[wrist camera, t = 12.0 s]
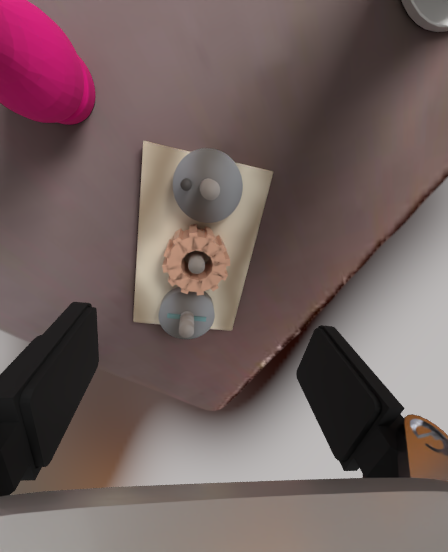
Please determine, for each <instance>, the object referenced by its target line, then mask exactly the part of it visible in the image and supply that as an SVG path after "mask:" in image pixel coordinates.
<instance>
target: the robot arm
mask: <svg viewBox="0 0 448 552" xmlns="http://www.w3.org/2000/svg"><path fill="white" fill-rule="evenodd" d="M402 4H403V5H404V7H405V9H406V11H407V13H408V15H409V16H410V17H411V18H412V19H413V21H414V22H415V23H416V24H418V25H419V26H421V27H422V28H424V29H426V30H430V31H434V32H444V31H448V0H402ZM98 362H99V355H98V333H97V311H96V308H94V307H92V305H91V304H90V303H81V302H73V303H71V304H70V305H69V307H68V308H67V309H66V310H65V311H64V312H63V313H62V314H61V315H60V316H59V317H58V319H57V320H56V321H55V322H54V323H53V324H52V325H51V326H50V327H49V328H48V329H47V330H46V332H45V333H44V334H43V335H40V336H37V337H36V338H35V339H34V340H33V341H32V342H31V343H30V344H29V345H28V346H27V347H26V348H25V349H24V350H23V351H22V352H21V353H20V354H19V356H18V357H17V358H16V359H15V360H14V361H13V362H12V363H11V364H10V365H9V366H8V367H7V368H6V369H5V370H4V371H3V373H1V375H0V552H448V435H447V434H446V433H445V432H444V431H443V430H441V429H440V428H439V427H438V426H436V425H435V424H433V423H432V422H430V421H429V420H427V419H425V418H422V417H420V416H417V415H413V414H412V415H407V416H406V417H405V418H403V417H402V416H401V412H402V411H403V410H404V407H403V406H402V405H401V404H400V403H399V402H398V401H397V399H396V398H395V397H394V396H393V395H392V393H390V391H389V390H388V389H387V388H386V386H385V385H384V384H383V383H382V382H381V381H380V380H379V378H378V377H377V376H376V375H375V374H374V373H373V371H372V370H371V369H370V368H369V367H368V366H367V364H366V363H365V362H364V361H363V360H362V359H361V358H360V356H359V355H358V354H357V353H356V352H355V351H354V350H353V348H352V347H351V346H350V345H349V344H348V342H347V341H346V340H345V339H344V338H343V337H342V336H341V334H340V333H339V332H338V331H337V330H336V329H335V328H334V327H332V326H319V327H318V328H316V329H315V330H314V333H313V335H312V337H311V339H310V342H309V344H308V346H307V349H306V351H305V353H304V355H303V358H302V360H301V363H300V365H299V367H298V369H297V379H298V381H299V383H300V386H301V387H302V389H303V392H304V394H305V396H306V398H307V400H308V402H309V404H310V406H311V409H312V411H313V413H314V415H315V417H316V419H317V421H318V423H319V425H320V427H321V429H322V432H323V434H324V436H325V438H326V440H327V442H328V444H329V446H330V448H331V450H332V453H333V454H334V456H335V458H336V459H337V460H339V461H340V463H341V465H342V467H343V470H344V471H355V470H356V471H357V470H358V469H359V467H360V469H361V471H362V473H363V478H350V479H318V480H286V481H258V482H231V483H204V484H180V485H158V486H157V485H156V486H133V487H111V488H110V487H109V488H93V489H77V490H60V491H47V492H45V491H44V492H35V493H27V494H17V495H10V494H11V493H12V492H13V491H15V489H16V488H17V486H18V484H19V482H20V481H21V480H35V479H36V477H37V475H38V473H39V471H40V470H41V468H42V467H46V466H47V465H48V464H49V463H50V461H51V460H52V458H53V456H54V454H55V451H56V450H57V448H58V445H59V444H60V442H61V439H62V438H63V436H64V434H65V432H66V430H67V428H68V425H69V424H70V422H71V419H72V417H73V415H74V413H75V411H76V409H77V407H78V405H79V403H80V401H81V399H82V397H83V395H84V393H85V391H86V389H87V387H88V385H89V383H90V381H91V379H92V377H93V375H94V373H95V371H96V369H97V366H98Z"/></svg>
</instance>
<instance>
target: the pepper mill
mask: <svg viewBox="0 0 448 552" xmlns="http://www.w3.org/2000/svg"><path fill="white" fill-rule="evenodd" d="M0 103H1V104H2V105H4V106H5V107H7V108H8V109H10V110H12V111H13V112H15V113H17V114H19V115H22V116H24V117H26V118H28V119H31V120H34V121H38V122H43V123H55V122H58V123H61V124H67V125H72V124H77V123H79V122H82V121H83V120H85V119H86V118H87V117H88V116H89V115H90V113H91V111H92V109H93V107H94V103H95V87H94V83H93V79H92V76H91V74H90V72H89V70H88V68H87V66H86V65H85V63H84V62H83V61H82V59H81V58H80V57H79V56H78V55H77V53H76V51H75V49H74V47H73V45H72V44H71V42H70V41H69V39H68V37H67V36H66V35H65V33H64V32H63V31H62V30H61V28H60V27H59V26H58V25H57V24H56V23H55V22H54V21H53V20H52V19H51V18H49V17H48V16H47V15H46V14H45V13H44V12H43V11H41V10H40V9H39V8H38V7H36V6H35V5H33V4H31V3H30V2H28V1H27V0H0Z"/></svg>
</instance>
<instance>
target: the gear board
mask: <svg viewBox="0 0 448 552" xmlns="http://www.w3.org/2000/svg"><path fill="white" fill-rule="evenodd" d="M272 176H273V171H269V170H265V169H261V168H256V167H252V166H248V165H244V164H239V163H235V162H234V161H233V160H232V159H231V158H230V157H229V156H228V155H227V154H225V153H224V152H221V151H219V150H216V149H212V148H202V149H198V150H195V151H192V152H189V151H185V150H181V149H176V148H172V147H168V146H164V145H159V144H155V143H151V142H147V141H143V156H142V173H141V191H140V209H139V227H138V244H137V262H136V280H135V298H134V315H133V322H140V323H151V324H160V325H161V327H162V328H163V330H164V331H165V332H167V333H168V334H169V335H171V336H173V337H176V338H179V339H193V338H197V337H199V336H201V335H203V334H205V333H206V332H207V331H208V330H209V329H217V330H228V331H232V328H233V324H234V320H235V317H236V313H237V309H238V305H239V301H240V298H241V294H242V290H243V286H244V282H245V279H246V275H247V271H248V267H249V263H250V259H251V256H252V252H253V248H254V244H255V240H256V237H257V233H258V229H259V225H260V221H261V218H262V214H263V210H264V206H265V202H266V199H267V195H268V191H269V187H270V183H271V179H272ZM194 224H196V225H197V228H200V229H205V227H206V226H207V227H209V228H211V229H212V231H213V234H214V236H218V235H219V236H220V237H221V238H222V240H223V242H224V244H225V247H226V249H227V250H226V251H227V253H228V256H229V258H230V266H226V270H227V273H228V276H227V278H226V280H225V281H224V280H221V281H220V282H219V283H218V287H219V288H218V289H216V290H215V291H212V290H211V289H209V290H206V291H204V295H197V292H191V291H189V292H188V294H185V293H182V292H181V288H180V287H179V286H177V285H174V286H173V287H172V285H171V284H170V283H169V282H168V279H169V274H168V272H166V273H163V267H162V265H163V262H164V259H165V257H164V256H163V255H164V252H165V250H166V247H167V244H168V242H169V239H171V240H173V238H174V235H175V232H176V231H177V230H179V229H180V228H181V229H182V230H183V231H185V230H188V229H189V227H190V225H194ZM209 258H210V256H208V255H207V254H206V253H205V252H202V251H196V250H195V251H192V252H189V253H187V254H186V255H185V256H184V260H185V262H186V263H187V264H188V268H189V270H190V271H191V272H192V273H194V274H200V273H202V272H203V271H204V269H205V264H206V262H207V261H208V260H209Z"/></svg>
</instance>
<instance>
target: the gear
mask: <svg viewBox="0 0 448 552" xmlns="http://www.w3.org/2000/svg"><path fill="white" fill-rule="evenodd" d="M195 250H196V251H202V252H205V253H206V254H207V255H208V256H210V258H209V260H208V261H207V262H206V264H205V269H204V271H203V272H202V273H200V274H194V273H192V272H191V271H190V270H189V268H188V264H187V263H186V262H185V260H184V256H185V255H186V254H187V253H189V252H192V251H195ZM226 250H227V249H226V247H225V244H224V242H223V240H222V238H221V237H220V236H219V235H218V236H214V234H213V231H212V229H211V228H209V227H207V226H206V227H205V229H200V228H197V225H196V224H194V225H190V227H189V229H188V230H185V231H183V230H182V229H181V228H180V229H179V230H177V231H176V232H175V235H174V238H173V240H171V239H169V242H168V244H167V247H166V250H165V252H164V255H163V256H164V257H165V259H164V262H163V265H162V267H163V273H166V272H168V274H169V279H168V282H169V283H170V284H171V285H172V287H173V286H174V285H177V286H179V287H180V288H181V292H182V293H185V294H188V292H189V291H191V292H197V295H204V291H206V290H209V289H211V290H212V291H215V290H216V289H218V288H219V287H218V283H219V282H220V281H221V280H224V281H225V280H226V278H227V276H228V273H227V270H226V266H230V258H229V256H228V253H227V251H226Z"/></svg>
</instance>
